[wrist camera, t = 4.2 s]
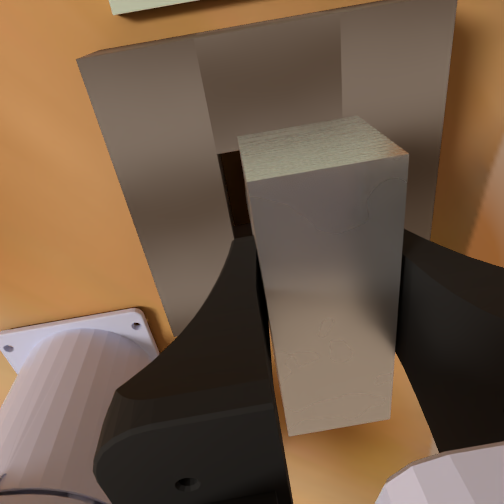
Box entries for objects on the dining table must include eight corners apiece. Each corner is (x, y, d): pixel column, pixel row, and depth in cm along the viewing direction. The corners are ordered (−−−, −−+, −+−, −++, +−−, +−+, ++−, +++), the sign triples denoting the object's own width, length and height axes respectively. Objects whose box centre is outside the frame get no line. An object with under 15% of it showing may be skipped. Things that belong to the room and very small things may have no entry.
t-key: (308, 80, 14) (408, 153, 7) (320, 260, 19) (390, 419, 11) (228, 94, 14) (247, 182, 7) (258, 270, 19) (288, 436, 11)
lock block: (398, 258, 21) (423, 293, 19) (178, 297, 21) (174, 336, 19) (415, -6, 15) (458, -8, 12) (98, 50, 15) (75, 59, 12)
